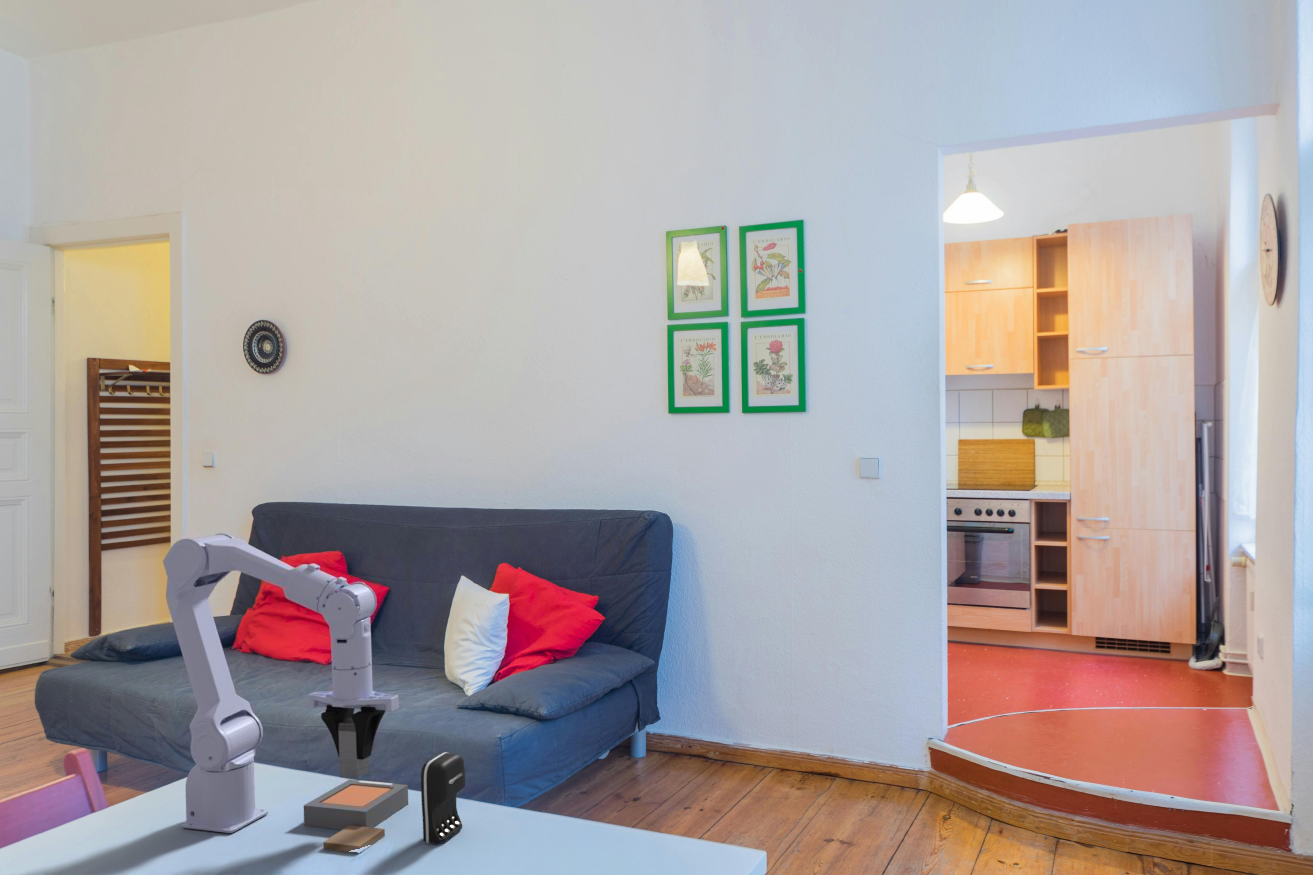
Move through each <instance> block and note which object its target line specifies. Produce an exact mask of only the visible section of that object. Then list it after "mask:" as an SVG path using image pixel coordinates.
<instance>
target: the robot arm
mask: <svg viewBox="0 0 1313 875" xmlns="http://www.w3.org/2000/svg"><path fill="white" fill-rule="evenodd" d="M162 563H163V566H164V567H163V568H164V570H165V572H166V573H165V574H166V577H167V580H166V591H165V599H166V603H167V607H168V612H169V614H170V617H171V622H172V625H173V627H174V631H175V634H176V637H177V641H178V644H179V648H180V651H181V655H182V657H183V661H184V665H185V668H186V671H187V674H188V675H187V676H188V679H189V681H190V685H191V689H192V692H193V695H194V699H195V703H196V705H197V710H196V712H195V714H194V716H193V718H192V720H191V721H190V724H189V730H190V735H191V741H190V753H191V754H190V756H191V757H192V759H193V761H194V763H195V765H194V766H193V767H192V768H191V769H190V771H189V772H188V774H187V777H186V781H185V817H186V822H183V823H182V825H181V827H182V828H183V829H190V830H191V829H193V830H198V831H199V830H201V831H206V832H207V831H209V832H218V833H227V834H232V833H235V832H236V831H238V830H240V829H242V828H244V827H245V826H248V825H249V824H251V823H254V822H255V821H256V820H258V819H260V818H262V817H264V816H266V815H267V814H268V813H269V810H268V809H261V808H256V795H255V794H256V793H255V791H256V790H255V789H256V788H255V787H256V786H255V760H254V758H255V756H256V748H257V747H258V746H259V745H260V744H261V742H262V740H263V737H264V736H263V735H264V728H263V725H262V723H261V720H260V719H259V718H258V717H257V716H256V714H255V713H254V711H253V710H252V707H251V704H250V702H249V701H248V700H246V699H245V698H243V697H241V696H239V695H238V694H237V693H236V689H235V686H234V682H233V679H232V675H231V672H230V669H229V666H228V662H227V659H226V656H225V653H224V648H223V645H222V642H221V639H220V636H219V633H218V629H217V625H216V622H215V619H214V615H213V612H212V608H211V606H210V601H209V597H210V596H211V594H212V592H213V591H214V590H215V587H217V585H218V583H220V582H221V581H222V580H223V579H225V578H226V577H227V576H228V575H229V574H230V573H232V571H233V572H234V571H235V572H237V571H238V572H240V573H242V574H245V575H248V576H250V577H252V578H253V577H254V578H255V579H258V580H261V581H264V582H266V583H269V584H272V585H274V586H277V587H280V588H281V589H282V590H283V592H284V597H285V598H286V599H287V600H289V601H291V602H294V603H296V604H299V605H300V606H303V607H305V608H306V609H310V610H312V611H314V612H316V613H318V614H320V615H322V616H323V617H322V618H324V620H325V622H326V623H327V625H328V626H329V636H330V650H331V652H330V653H331V680H332V682H331V685H332V690H331V691H330V690H329V691H328V690H327V691H317V690H316V691H315V692H314V691H313V692H311V693H310V694H308V695H307V700H308V701H307V703H308V708H317V707H319V708H321V707H322V708H323V707H325V708H326V709H325V711H324V712H321V713H320V719H321V720H322V721H323V723H324V724H325V725H326V728H327V729H328V731H329V732H330V735H331V738H332V740H333V743H334V746H335V749H336V753H337V757H339V731H338V723H340V722H342V721H344V720H346V719H348V718H352V720H353V722H354V726H355V729H356V734H357V745H358V755H359V759H362V760H363V759H365V758H367V757H369V758H370V757H371V755H372V752H373V746H374V740H375V737H376V734H377V731H378V728H379V726H380V723H381V721H382V719H383V716H384V715H385V713H386V712H387V713H392V712H393V711H396V710H398V709H400V700H399V699H400V698H399V695H398V694H396V695H395V694H388V693H383V692H380V691H379V692H378V691H373V688H374V687H373V666H372V665H373V662H372V660H373V658H372V657H373V656H372V655H373V653H372V632H371V630H372V628H371V625H372V624H371V616H372V615H373V614H374V613H375V610H376V609H377V596H376V593H375V592H374V590H373V588H371V587H370V586H369V585H367V584H366V583H365V582H363V581H355V582H352V583H348V582H347V578H345V577H343V576H340V577H336V576H334V575H331V574H329V573H327V572H325V571H322V570H320V568H321V566H320V565H318V564H317V563H310V564H306V563H304V564H301V565H298V566H296V567H294V566H291V565H290V564H288V563H286V562H284V561H281V560H280V559H278V558H276V557H274V556H272V555H270V554H268V553H266V552H264V551H263V550H260V549H258V548H256V547H254V546H253V545H250V544H249V543H247V542H246V541H245V540H244V539H242V538H239V537H234V536H233V535H231V534H229V533H224V532H222V533H221V532H220V533H215V534H214V535H207V536H201V537H194V538H188V537H187V538H182V539H179V540H177V541H176V542H175V543H173V545H172V546H171V547H170V549H169V550H168V552H167V553H166V555H165V556H164V558H163V560H162ZM355 709H360V710H359V711H357V712H355Z"/></svg>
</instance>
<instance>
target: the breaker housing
mask: <svg viewBox="0 0 1313 875" xmlns="http://www.w3.org/2000/svg"><path fill="white" fill-rule="evenodd" d="M351 785H356V786H366V787H377V788H388V789H391V790H390V791H388V792H386V793H385V794H383V795H382V796H380V797H378V798H377V799H375V800H374V801H372V802H370V803H369V804H367V805H366V806H364V807H358V806H348V805H339V804H329V803H321V802H323V801H325V800H327V799H328V798H330V797H332V796H334V795H335V794H337V793H339V792H341V791H342V790H344V789H346V788H347V787H349V786H351ZM408 805H409V785H408V784H402V783H401V784H400V783H393V782H392V783H391V782H383V781H382V782H381V781H370V780H355V779H348V780H346V781H344V782H342V783H340V784H339V785H337V786H335V787H333V788H332V789H330V790H329V791H326V792H325V793H323V794H321V795H319V796H318V797H316V798H314V799H313V800H310V801H308V802H307V803H305V804H304V805H303V825H304V826H306V827H314V828H315V827H317V828H324V829H325V828H326V829H335V830H343V829H344V828H346V827H348V826H349V825H353V826H362V827H371V828H376V826H378V825H379V824H381V823H382V822H383V821H385V820H387V819H388V818H390V817H391V816H393V815H394V814H396V813H397V812H398V811H400V810H402V809H403V808H404V807H406V806H408Z"/></svg>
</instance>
